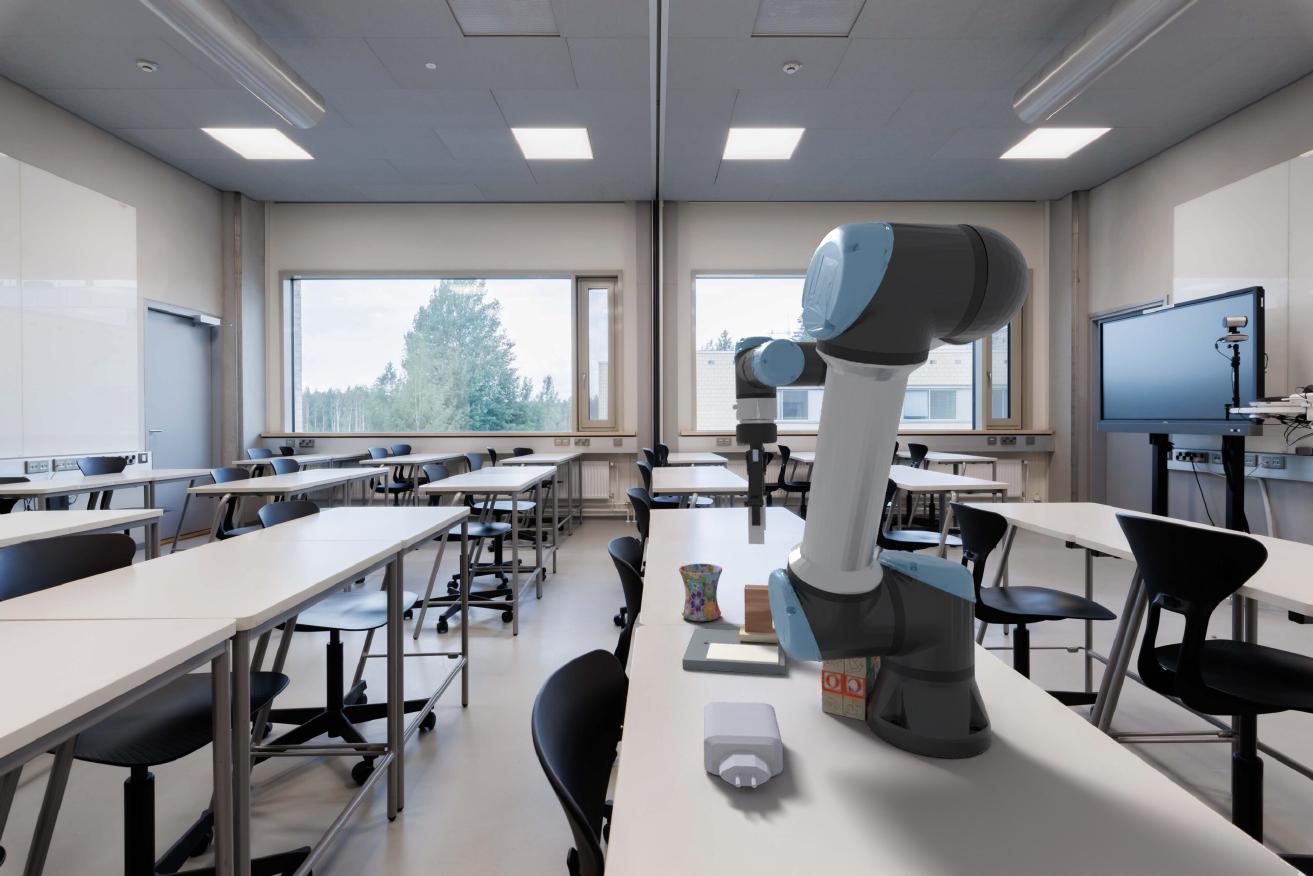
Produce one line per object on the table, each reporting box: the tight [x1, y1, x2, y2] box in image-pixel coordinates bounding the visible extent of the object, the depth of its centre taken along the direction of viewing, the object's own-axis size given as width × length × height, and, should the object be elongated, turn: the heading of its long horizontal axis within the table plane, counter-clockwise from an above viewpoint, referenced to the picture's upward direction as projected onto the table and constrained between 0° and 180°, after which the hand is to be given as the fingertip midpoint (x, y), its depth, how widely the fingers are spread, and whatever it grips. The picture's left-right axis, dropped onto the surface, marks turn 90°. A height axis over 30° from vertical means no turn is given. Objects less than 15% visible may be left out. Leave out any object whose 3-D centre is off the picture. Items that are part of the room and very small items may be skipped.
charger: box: [703, 701, 784, 789], centre depth 73 cm, size 5×9×15 cm
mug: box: [678, 563, 723, 622], centre depth 132 cm, size 12×9×11 cm
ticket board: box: [681, 628, 786, 676], centre depth 109 cm, size 16×17×2 cm
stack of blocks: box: [821, 657, 880, 721], centre depth 94 cm, size 21×6×12 cm, turn 149°
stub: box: [739, 584, 778, 643], centre depth 113 cm, size 6×7×9 cm
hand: (757, 536), depth 113 cm, fingers open, 13 cm apart
